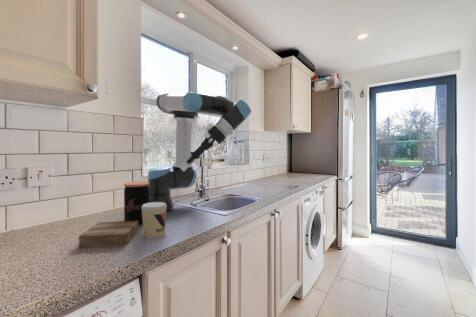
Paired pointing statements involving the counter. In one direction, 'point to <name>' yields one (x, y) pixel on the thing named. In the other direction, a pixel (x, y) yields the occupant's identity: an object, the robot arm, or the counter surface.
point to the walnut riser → (109, 234)
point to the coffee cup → (154, 219)
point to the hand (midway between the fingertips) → (182, 168)
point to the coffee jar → (135, 200)
